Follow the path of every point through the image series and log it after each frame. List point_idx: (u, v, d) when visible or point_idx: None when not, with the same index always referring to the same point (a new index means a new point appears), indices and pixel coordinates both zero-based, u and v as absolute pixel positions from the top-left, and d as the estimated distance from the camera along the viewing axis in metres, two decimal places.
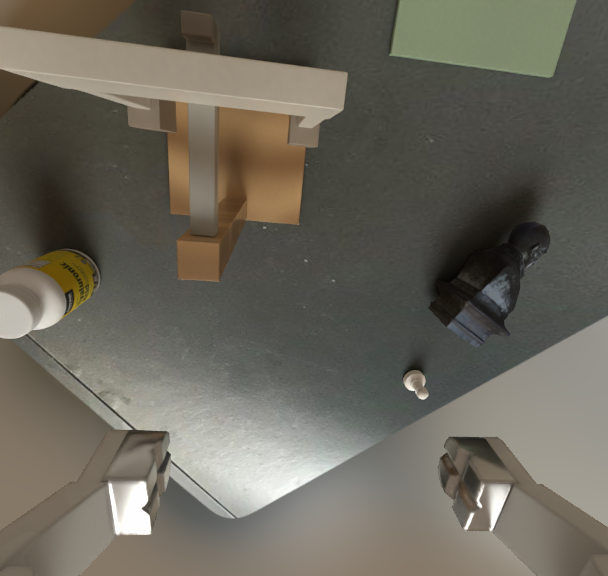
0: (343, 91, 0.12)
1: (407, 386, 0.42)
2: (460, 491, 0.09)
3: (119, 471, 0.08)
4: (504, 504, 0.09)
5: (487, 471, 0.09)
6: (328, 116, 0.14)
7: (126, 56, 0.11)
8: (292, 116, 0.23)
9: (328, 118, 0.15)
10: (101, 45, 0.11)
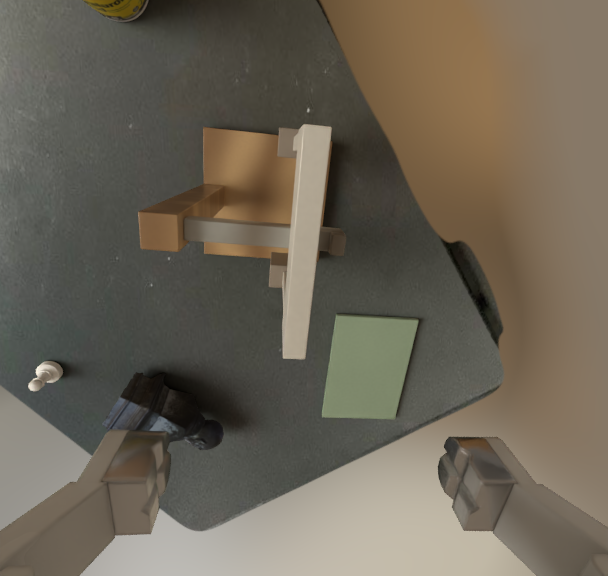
0: (294, 357, 0.18)
1: (40, 367, 0.39)
2: (460, 491, 0.09)
3: (119, 471, 0.08)
4: (504, 504, 0.09)
5: (487, 471, 0.09)
6: (282, 333, 0.20)
7: (312, 222, 0.16)
8: None
9: (282, 328, 0.21)
10: (319, 206, 0.15)
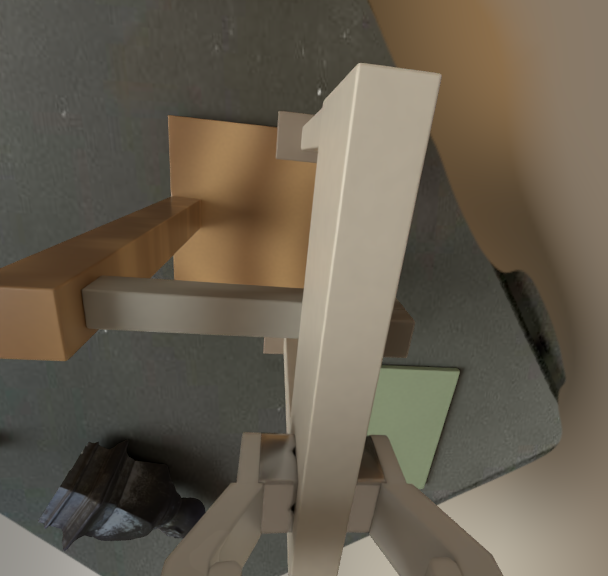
0: None
1: None
2: None
3: (270, 472, 0.08)
4: (376, 504, 0.08)
5: None
6: None
7: (367, 333, 0.06)
8: None
9: None
10: (387, 294, 0.06)
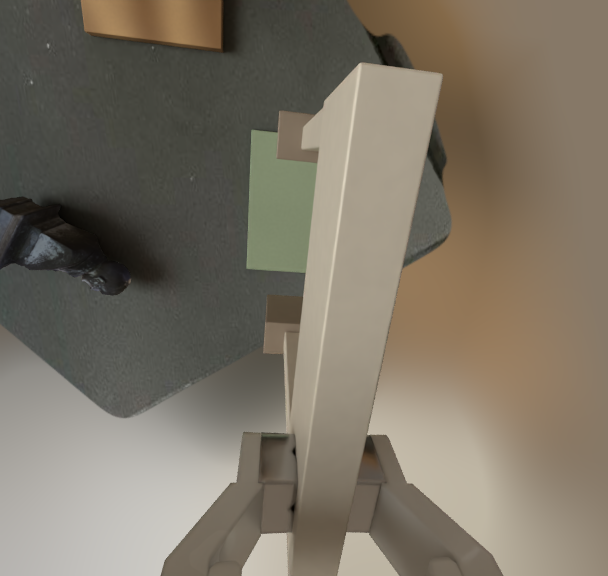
0: None
1: None
2: None
3: (270, 472, 0.08)
4: (376, 505, 0.08)
5: None
6: None
7: (367, 333, 0.06)
8: (295, 325, 0.19)
9: None
10: (387, 294, 0.06)
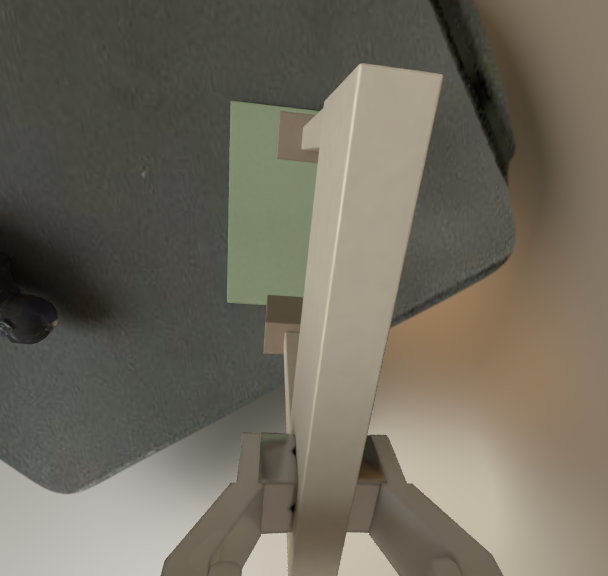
0: None
1: None
2: None
3: (270, 472, 0.08)
4: (376, 504, 0.08)
5: None
6: None
7: (368, 333, 0.06)
8: (295, 325, 0.19)
9: None
10: (387, 295, 0.06)
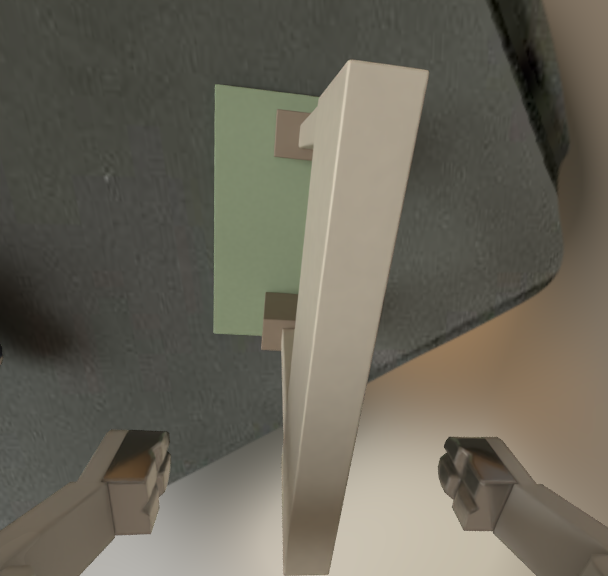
0: (306, 573, 0.09)
1: None
2: (460, 491, 0.09)
3: (118, 471, 0.08)
4: (505, 504, 0.09)
5: (487, 471, 0.09)
6: (282, 487, 0.11)
7: (359, 322, 0.06)
8: (293, 322, 0.19)
9: (281, 467, 0.12)
10: (377, 284, 0.06)
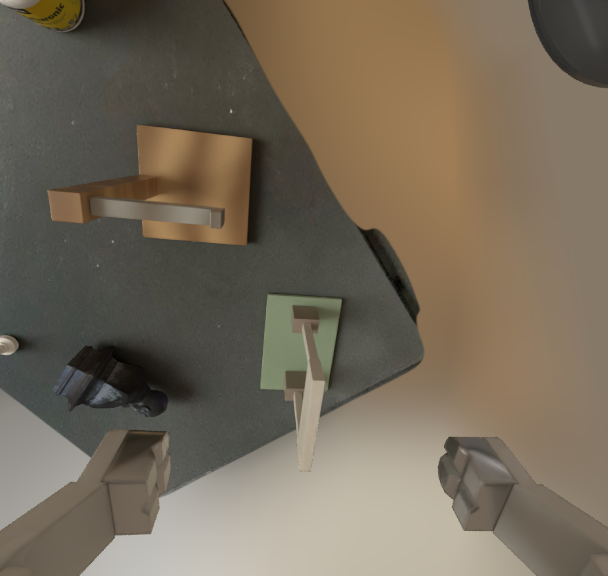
0: (305, 471, 0.36)
1: None
2: (460, 491, 0.09)
3: (119, 471, 0.08)
4: (505, 504, 0.09)
5: (487, 471, 0.09)
6: None
7: (315, 415, 0.33)
8: (298, 389, 0.46)
9: (297, 446, 0.39)
10: (318, 409, 0.33)
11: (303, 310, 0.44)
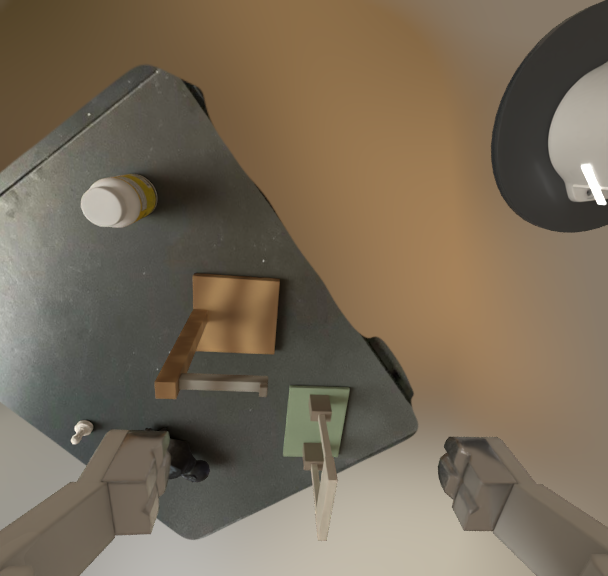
0: (322, 540, 0.47)
1: (77, 425, 0.55)
2: (460, 491, 0.09)
3: (119, 471, 0.08)
4: (505, 504, 0.09)
5: (487, 471, 0.09)
6: (316, 522, 0.49)
7: (330, 503, 0.44)
8: (315, 461, 0.57)
9: (315, 517, 0.50)
10: (332, 498, 0.44)
11: (318, 400, 0.55)
